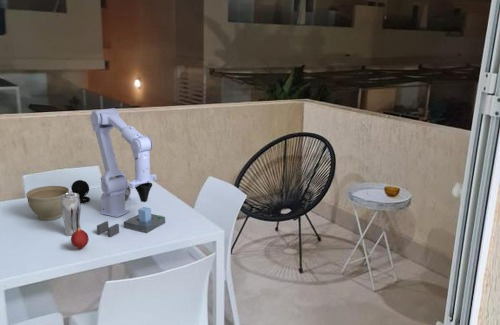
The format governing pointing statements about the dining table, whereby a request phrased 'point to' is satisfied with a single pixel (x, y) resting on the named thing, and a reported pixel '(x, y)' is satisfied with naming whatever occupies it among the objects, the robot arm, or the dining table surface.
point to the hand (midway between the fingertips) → (143, 201)
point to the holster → (108, 229)
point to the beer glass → (71, 212)
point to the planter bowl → (46, 201)
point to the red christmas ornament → (79, 239)
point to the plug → (144, 214)
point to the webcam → (81, 190)
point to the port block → (144, 223)
